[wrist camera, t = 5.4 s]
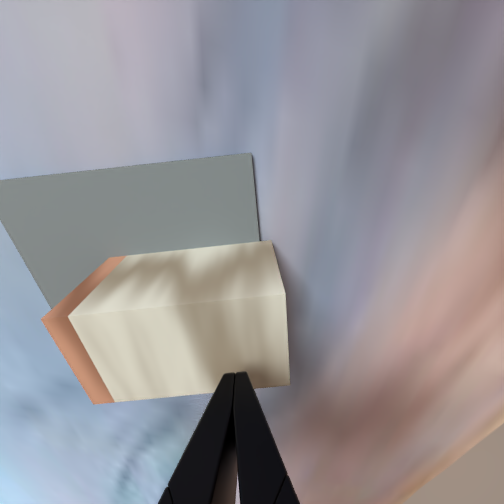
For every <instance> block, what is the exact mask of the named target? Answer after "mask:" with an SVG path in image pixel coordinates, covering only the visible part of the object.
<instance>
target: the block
mask: <svg viewBox="0 0 504 504" xmlns="http://www.w3.org/2000/svg"><path fill="white" fill-rule="evenodd" d="M41 320H42V322H43V324H44V325H45V327H46V328H47V330H48V332H49V333H50V335H51V337H52V338H53V340H54V341H55V343H56V345H57V346H58V348H59V349H60V351H61V353H62V354H63V356H64V358H65V359H66V361H67V362H68V364H69V366H70V367H71V369H72V371H73V372H74V374H75V375H76V377H77V379H78V380H79V382H80V383H81V385H82V387H83V388H84V390H85V392H86V393H87V395H88V396H89V398H90V400H91V401H92V403H93V404H102V403H112V402H123V401H133V400H143V399H154V398H164V397H174V396H184V395H195V394H205V393H214V392H215V390H216V388H217V386H218V384H219V382H220V380H221V378H222V376H223V374H224V373H230V372H234V373H235V374H236V372H240V371H246V372H247V373H248V376H249V378H250V381H251V383H252V386H253V388H254V389H256V388H267V387H277V386H287V385H290V372H289V352H288V333H287V314H286V294H285V290H284V287H283V283H282V279H281V275H280V271H279V268H278V264H277V260H276V256H275V253H274V249H273V245H272V241H271V240H269V241H259V242H250V243H241V244H231V245H222V246H212V247H203V248H194V249H184V250H175V251H166V252H156V253H147V254H138V255H128V256H119V257H110V258H108V259H107V260H106V261H105V262H104V263H103V264H101V265H100V266H99V267H98V268H97V269H96V270H95V271H94V272H93V273H91V274H90V275H89V276H88V277H87V278H86V279H85V280H84V281H83V282H82V283H80V284H79V285H78V286H77V287H76V288H75V289H74V290H73V291H72V292H70V293H69V294H68V295H67V296H66V297H65V298H64V299H63V300H62V301H60V302H59V303H58V304H57V305H56V306H55V307H54V308H53V309H52V310H51V311H49V312H48V313H47V314H46V315H45V316H44V317H43V318H42V319H41Z"/></svg>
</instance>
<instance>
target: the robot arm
mask: <svg viewBox="0 0 504 504" xmlns="http://www.w3.org/2000/svg"><path fill="white" fill-rule="evenodd" d="M237 473H238V481H239V493H240V504H300V502H299V500H298V497H297V495H296V493H295V490H294V488H293V485H292V483H291V480H290V478H289V476H288V475H287V471H286V468H285V466H284V463H283V461H282V458H281V456H280V453H279V451H278V448H277V446H276V443H275V441H274V438H273V436H272V433H271V431H270V428H269V426H268V423H267V421H266V418H265V416H264V413H263V411H262V408H261V406H260V403H259V401H258V398H257V396H256V393H255V391H254V388H253V386H252V383H251V381H250V378H249V376H248V373H247V372H246V371H240V372H236V374H235V373H234V372H230V373H224V374H223V376H222V378H221V380H220V382H219V384H218V386H217V388H216V390H215V392H214V394H213V396H212V397H211V399H210V401H209V403H208V405H207V407H206V409H205V411H204V413H203V415H202V417H201V419H200V421H199V423H198V425H197V427H196V429H195V431H194V433H193V435H192V437H191V439H190V441H189V443H188V445H187V447H186V449H185V451H184V453H183V455H182V457H181V459H180V461H179V463H178V465H177V467H176V469H175V471H174V473H173V475H172V477H171V479H170V481H169V483H168V487H166V488H165V490H164V492H163V494H162V496H161V498H160V500H159V502H158V504H235V500H236V486H237Z"/></svg>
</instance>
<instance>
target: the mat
mask: <svg viewBox="0 0 504 504" xmlns="http://www.w3.org/2000/svg"><path fill="white" fill-rule="evenodd" d="M0 220H1V222H2V224H3V226H4V227H5V229H6V231H7V233H8V234H9V236H10V238H11V240H12V241H13V243H14V245H15V246H16V248H17V250H18V252H19V253H20V255H21V257H22V259H23V260H24V262H25V264H26V266H27V267H28V269H29V271H30V273H31V274H32V276H33V278H34V279H35V281H36V283H37V285H38V286H39V288H40V290H41V292H42V293H43V295H44V297H45V299H46V300H47V302H48V304H49V306H50V307H51V309H53V308H54V307H55V306H56V305H57V304H58V303H59V302H60V301H62V300H63V299H64V298H65V297H66V296H67V295H68V294H69V293H70V292H72V291H73V290H74V289H75V288H76V287H77V286H78V285H79V284H80V283H82V282H83V281H84V280H85V279H86V278H87V277H88V276H89V275H90V274H91V273H93V272H94V271H95V270H96V269H97V268H98V267H99V266H100V265H101V264H103V263H104V262H105V261H106V260H107V259H108V258H110V257H119V256H128V255H138V254H147V253H156V252H166V251H175V250H184V249H194V248H203V247H212V246H222V245H231V244H241V243H250V242H259V241H260V240H259V230H258V219H257V208H256V197H255V187H254V176H253V165H252V155H251V153H244V154H235V155H226V156H217V157H208V158H199V159H190V160H180V161H171V162H162V163H153V164H144V165H135V166H126V167H116V168H107V169H98V170H89V171H80V172H71V173H62V174H52V175H43V176H34V177H25V178H16V179H7V180H0Z"/></svg>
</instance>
